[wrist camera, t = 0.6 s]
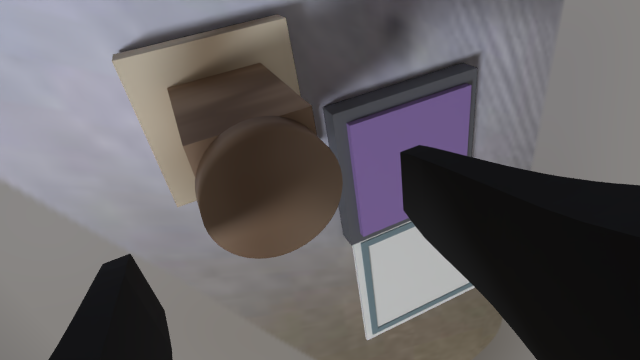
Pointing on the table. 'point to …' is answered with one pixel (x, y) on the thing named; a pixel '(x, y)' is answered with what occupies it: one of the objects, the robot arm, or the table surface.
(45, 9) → the table surface
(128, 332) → the robot arm
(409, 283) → the form card
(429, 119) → the ink pad
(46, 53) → the table surface
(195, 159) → the stamp
